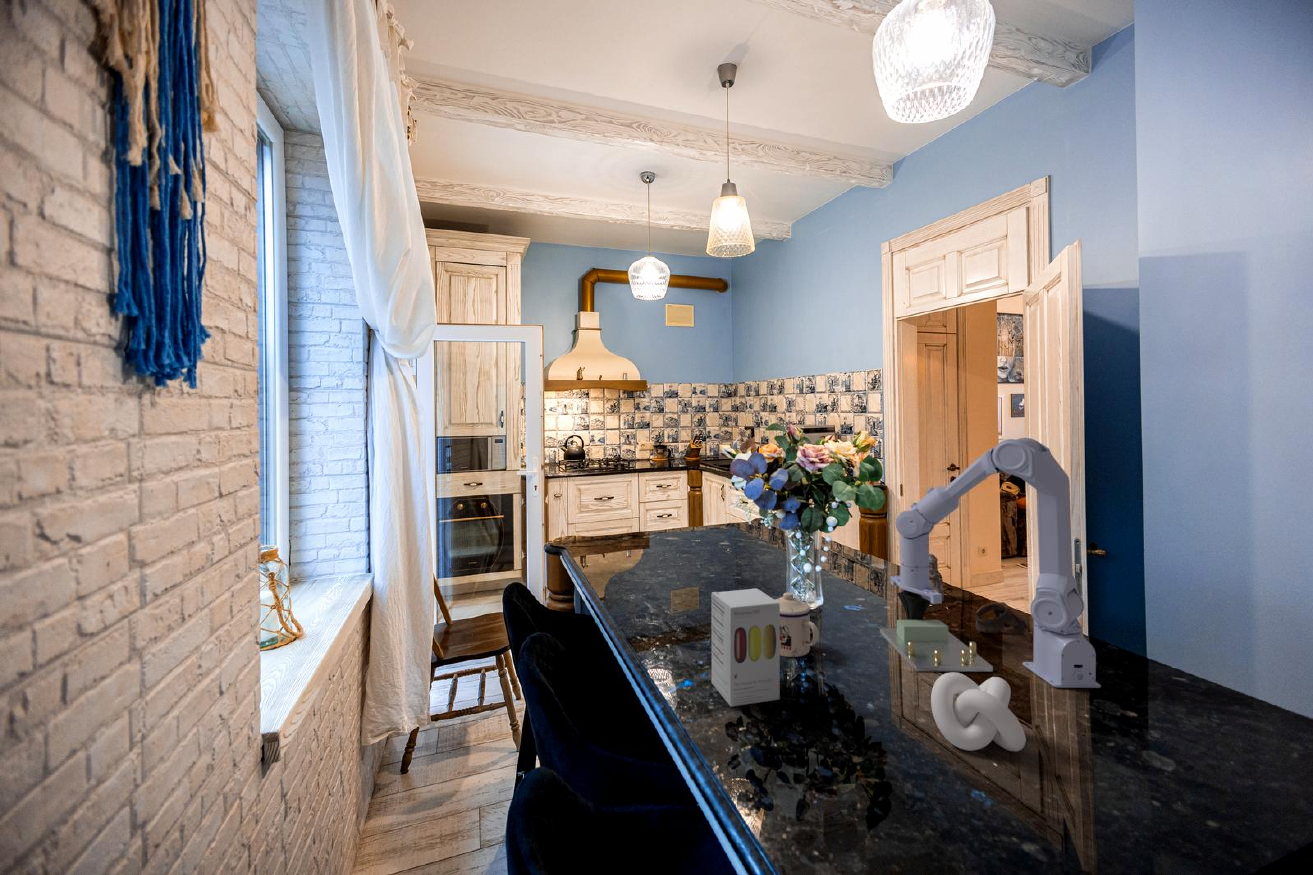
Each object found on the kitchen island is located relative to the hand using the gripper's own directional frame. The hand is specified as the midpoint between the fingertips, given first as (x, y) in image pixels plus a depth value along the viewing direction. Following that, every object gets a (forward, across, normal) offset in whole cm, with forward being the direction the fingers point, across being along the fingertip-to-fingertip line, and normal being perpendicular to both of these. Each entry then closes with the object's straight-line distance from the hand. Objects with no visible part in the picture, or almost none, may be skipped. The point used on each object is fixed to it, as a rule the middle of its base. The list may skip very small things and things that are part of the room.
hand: (914, 626), depth 122 cm
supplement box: (+2, -15, +45) cm, 48 cm away
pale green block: (+1, -4, +1) cm, 4 cm away
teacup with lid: (+2, -2, +29) cm, 29 cm away
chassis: (+2, -8, +2) cm, 8 cm away
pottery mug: (+2, -4, -18) cm, 19 cm away
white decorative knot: (+2, -37, +16) cm, 40 cm away
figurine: (+2, +21, -20) cm, 29 cm away
